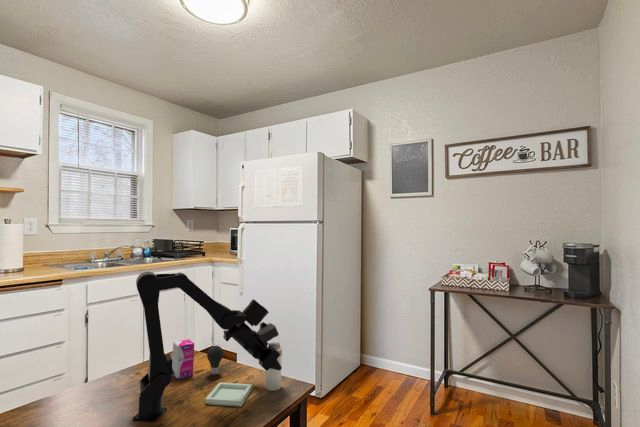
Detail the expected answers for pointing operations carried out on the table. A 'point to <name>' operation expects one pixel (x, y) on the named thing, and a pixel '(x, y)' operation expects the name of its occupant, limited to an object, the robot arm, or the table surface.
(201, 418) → the table surface
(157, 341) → the robot arm
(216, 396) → the tray
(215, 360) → the light bulb
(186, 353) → the supplement box
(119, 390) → the table surface
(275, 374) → the bottle
